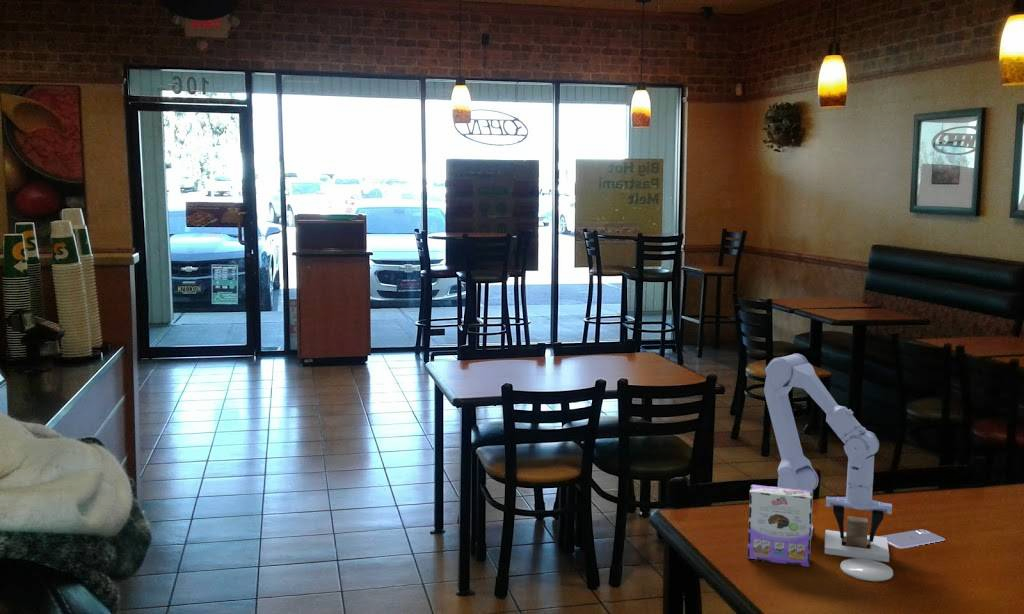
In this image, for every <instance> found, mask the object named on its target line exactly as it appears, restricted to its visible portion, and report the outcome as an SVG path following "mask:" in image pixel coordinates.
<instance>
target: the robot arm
mask: <svg viewBox="0 0 1024 614" xmlns="http://www.w3.org/2000/svg"><path fill="white" fill-rule="evenodd" d="M764 371H765V376H766V377H765V382H764V388H763V393H764V396H765V400H766V405H767V409H768V412H769V417H770V420H771V425H772V429H773V433H774V436H775V440H776V445H777V448H778V451H779V455H780V456H779V457H780V460H781V461H780V463H779V465H778V468H777V469H776V470H777V474H778V479H777V487H780V488H790V489H800V490H812V502H813V500H814V498H813V497H814V490H816V488H817V487H818V485H819V475H818V473H817V472H816V470H815V469H814V468H813V466H812V462H811V461H810V459H808V458H807V457H806V456H805V455H804V452H803V448H802V445H801V441H800V436H799V433H798V432H799V431H798V429H797V425H796V420H795V417H794V413H793V410H792V406H791V403H790V399H789V392H790V391H791V390H792V388H799V389H803V390H804V391H805V392H806V393H807V394H808V395H809V396H810V397H811V399H812V400H813V401H814V402H815V403H816V404H817V405H818V406H819V407H820V408H821V410H822V411H823V412H824V413H825V414H826V415H825V416H826V417H825V422H826V423H827V424H828V426H829V427H830V428H831V429H832V430H833V432H834V433H835V434H836V436H837V437H838V438H839V439H840V440H841V441H842V443H843V444H844V445H843V450H844V452H845V455H846V456H847V458H848V459H847V475H846V491H845V496H826V497H825V507H827V508H831V507H833V509H832V511H833V515H834V517H835V519H836V522H837V524H838V528H839V529H838V530H839V532H840V538H843V539H844V532H845V531H844V530H845V529H844V522H845V509H853V510H860V511H869V512H871V516H870V517H871V519H870V520H871V521H870V529H869V535H870V542H873V539H874V536H876V535H875V534H876V533H877V530H878V528H879V526H880V525H881V523H882V522H883V520H884V518H885V517H884V515H885V514H888V515H892V513H893V512H892V511H893V505H892V503H889V502H888V503H887V502H882V501H877V500H873V489H874V488H873V487H874V485H873V484H874V470H875V469H874V468H875V454H876V453H878V451H879V448H880V442H879V439H878V438H877V435H876V434H875V433H874V432H873V431H871V430H870V431H869V430H867V429H866V427H865V426H862V424H861V423H860V422H859V421H858V420H857V419H856V417H855V416H854V411H852V409H851V408H849V409H848V407H847V406H845V405H844V406H843V405H839V404H838V403H837V401H836V400H835V399H834V397H833V396H832V394H831V393H830V392H829V390H827V388H826V386H825V385H824V384H823V382H822V381H821V379H820V378H819V376H818V375H817V373H816V371H815V369H814V366H813V365H812V364H811V363H810V362H808V359H807V358H806V356H804V355H803V354H800V353H792V354H790V355H786V356H780V357H774V358H772V359H771V360H770V361H769V363H768V364H767V366H766V367H765V369H764ZM884 513H885V514H884ZM813 530H814V525H813V524H812V528H811V538H812V537H813V532H814V531H813Z"/></svg>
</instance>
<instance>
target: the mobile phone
mask: <svg viewBox="0 0 1024 614" xmlns="http://www.w3.org/2000/svg"><path fill="white" fill-rule="evenodd" d="M880 537H887V542H888V545H890V546H892V547H894V548H895V549H900V550H901V549H902V550H903V549H909V548H914V547H915V546H916V547H920V546H919V545H922V546H926V545H925V544H928V545H931V544H930V543H934V544H936V543H935V542H940V541H944V540H945V541H946V539H945V538H944V537H942V536H941V535H938V534H936V533H933V532H931V531H929V530H926V529H922V528H921V529H914V530H909V531H904V532H898V533H891V534H886V535H885V534H884V535H880ZM940 543H941V542H940ZM916 547H915V548H916Z"/></svg>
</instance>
